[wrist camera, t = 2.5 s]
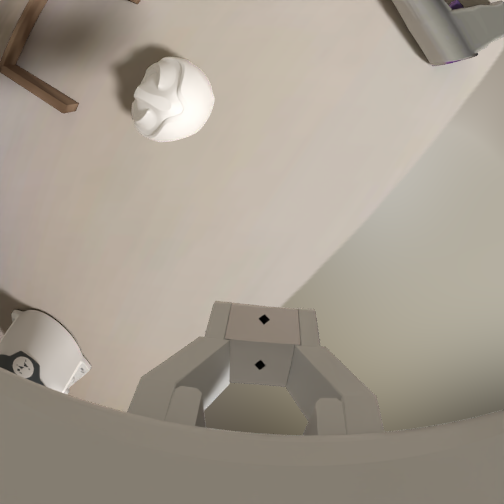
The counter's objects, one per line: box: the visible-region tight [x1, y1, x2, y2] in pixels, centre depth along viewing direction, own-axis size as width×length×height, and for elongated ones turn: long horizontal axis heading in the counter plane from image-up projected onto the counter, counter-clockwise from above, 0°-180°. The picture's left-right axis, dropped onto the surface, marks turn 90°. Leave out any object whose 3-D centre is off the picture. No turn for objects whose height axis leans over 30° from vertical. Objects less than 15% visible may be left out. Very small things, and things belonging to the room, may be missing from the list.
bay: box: [0, 0, 140, 113], centre depth 23 cm, size 15×14×2 cm
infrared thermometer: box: [392, 0, 504, 66], centre depth 18 cm, size 5×12×15 cm
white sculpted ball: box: [131, 57, 215, 142], centre depth 25 cm, size 8×8×8 cm
